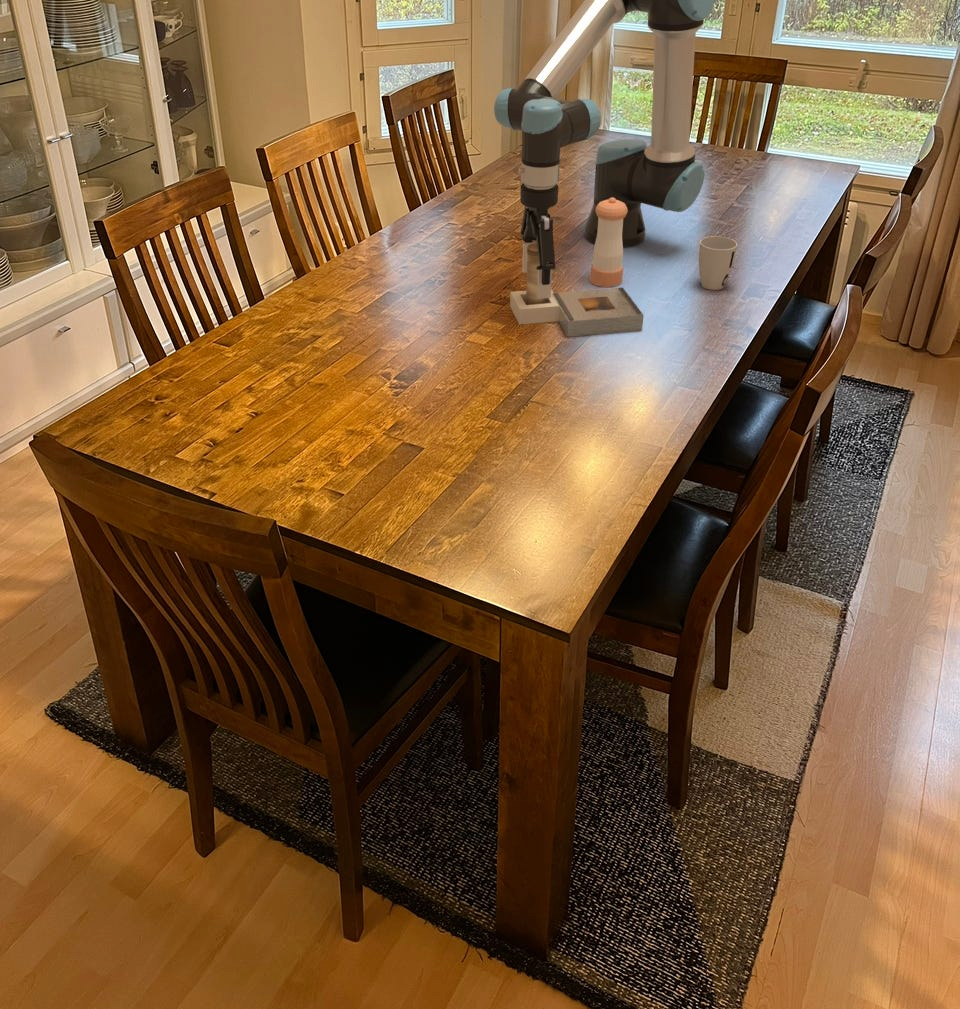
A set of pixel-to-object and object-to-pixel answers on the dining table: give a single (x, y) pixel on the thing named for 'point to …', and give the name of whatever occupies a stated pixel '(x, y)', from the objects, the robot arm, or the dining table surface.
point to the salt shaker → (608, 244)
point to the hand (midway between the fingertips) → (536, 284)
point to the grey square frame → (598, 312)
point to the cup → (716, 261)
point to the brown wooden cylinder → (532, 276)
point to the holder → (534, 309)
